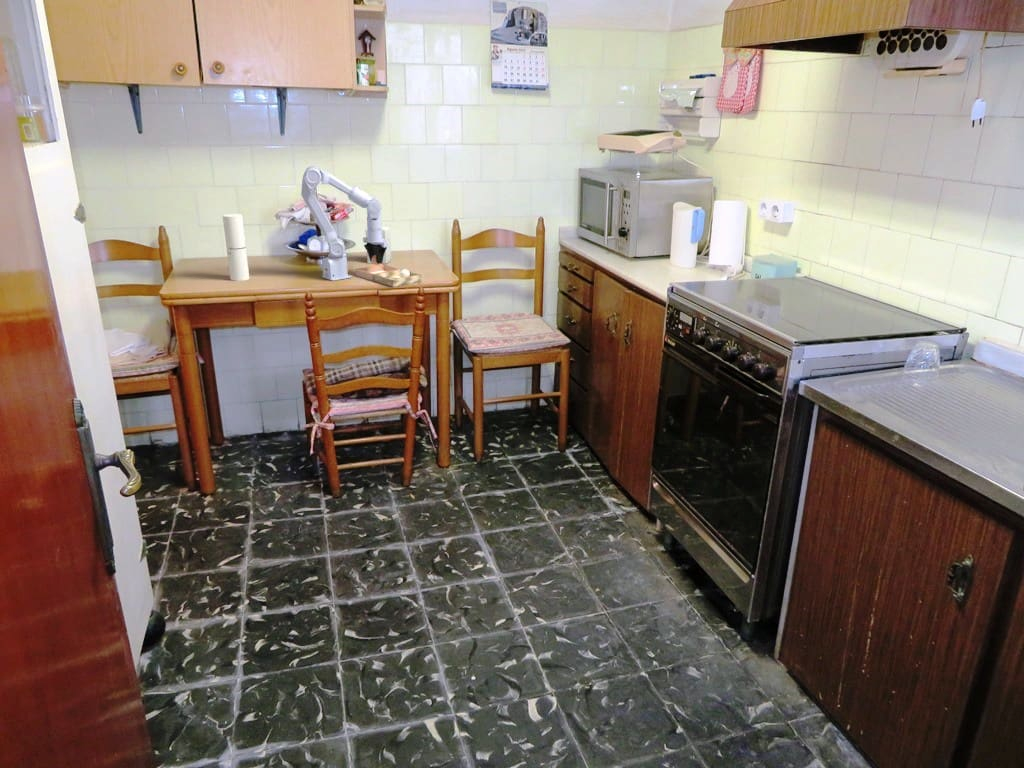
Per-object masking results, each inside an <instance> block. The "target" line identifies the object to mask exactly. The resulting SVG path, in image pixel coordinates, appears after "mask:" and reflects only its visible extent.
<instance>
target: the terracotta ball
mask: <svg viewBox="0 0 1024 768" xmlns="http://www.w3.org/2000/svg"><path fill="white" fill-rule="evenodd" d="M371 261H372V263H371V264H373V265H374V266H376V265H380V264H377V261H376V255H374V256H373V257H372V259H371Z"/></svg>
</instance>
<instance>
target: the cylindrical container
mask: <svg viewBox="0 0 1024 768" xmlns="http://www.w3.org/2000/svg"><path fill="white" fill-rule="evenodd" d="M243 219H244V217H243V214H241V213H227V214H222V223H223V230H224V239H225V246H226V252H227V253H226V254H227V262H228V270H229V277H230V279H229V280H231V281H233V280H234V281H233V282H243V281H248V280H249V279H250V273H249V272H250V270H249V262H248V254H247V247H246V245H247V244H246V236H245V229H244V220H243Z"/></svg>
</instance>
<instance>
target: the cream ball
mask: <svg viewBox="0 0 1024 768" xmlns="http://www.w3.org/2000/svg"><path fill="white" fill-rule="evenodd" d="M409 276H410V273H409V270H408V269H402V271H401V272H400V277H401V278H405V277H409Z"/></svg>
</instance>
